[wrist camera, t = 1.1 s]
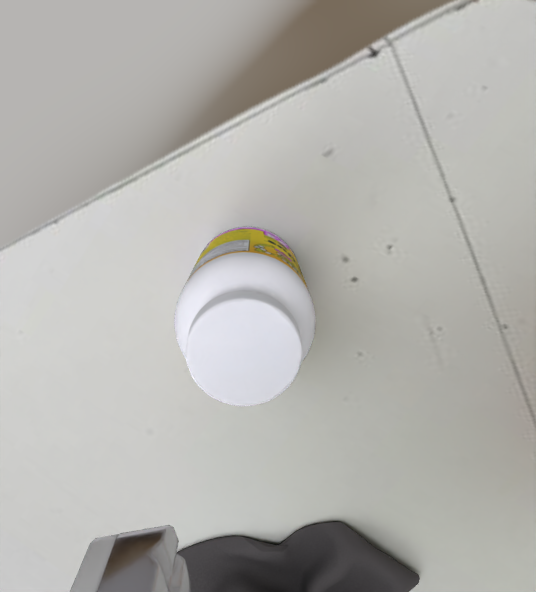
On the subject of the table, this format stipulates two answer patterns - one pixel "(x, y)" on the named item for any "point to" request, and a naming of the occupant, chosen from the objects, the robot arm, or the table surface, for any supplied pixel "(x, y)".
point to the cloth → (296, 564)
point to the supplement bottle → (245, 317)
